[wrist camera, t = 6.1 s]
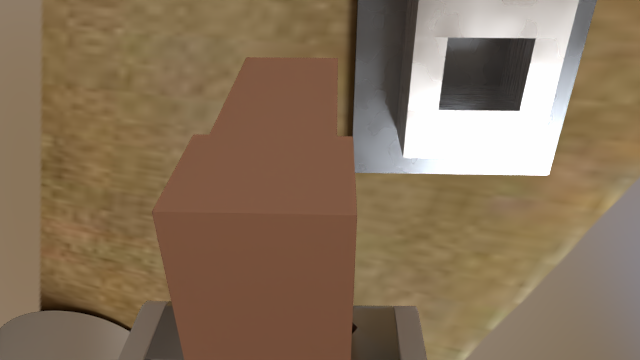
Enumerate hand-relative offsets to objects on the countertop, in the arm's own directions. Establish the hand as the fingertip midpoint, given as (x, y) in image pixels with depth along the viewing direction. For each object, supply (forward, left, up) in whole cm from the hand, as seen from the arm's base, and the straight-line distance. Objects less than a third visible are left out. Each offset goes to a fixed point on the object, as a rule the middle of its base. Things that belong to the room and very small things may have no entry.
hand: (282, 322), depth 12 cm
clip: (0, 0, -5) cm, 5 cm away
